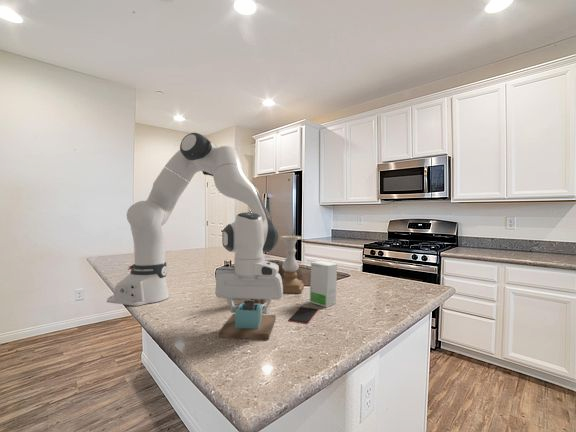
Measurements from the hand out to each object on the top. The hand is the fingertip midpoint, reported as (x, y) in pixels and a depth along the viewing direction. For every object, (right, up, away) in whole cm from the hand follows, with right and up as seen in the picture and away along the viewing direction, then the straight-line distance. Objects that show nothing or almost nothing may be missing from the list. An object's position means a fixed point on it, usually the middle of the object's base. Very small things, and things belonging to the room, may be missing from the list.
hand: (249, 312), depth 84 cm
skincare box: (+25, -5, +23) cm, 34 cm away
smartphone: (+17, -5, +11) cm, 21 cm away
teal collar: (0, -3, -1) cm, 3 cm away
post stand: (0, -5, 0) cm, 5 cm away
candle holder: (+13, -4, +41) cm, 43 cm away
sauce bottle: (0, -4, +24) cm, 25 cm away
